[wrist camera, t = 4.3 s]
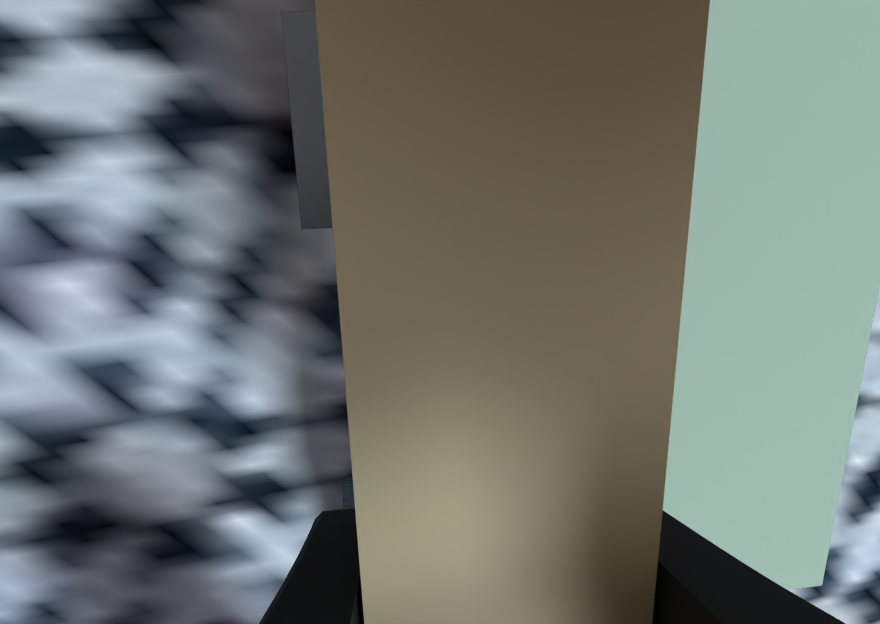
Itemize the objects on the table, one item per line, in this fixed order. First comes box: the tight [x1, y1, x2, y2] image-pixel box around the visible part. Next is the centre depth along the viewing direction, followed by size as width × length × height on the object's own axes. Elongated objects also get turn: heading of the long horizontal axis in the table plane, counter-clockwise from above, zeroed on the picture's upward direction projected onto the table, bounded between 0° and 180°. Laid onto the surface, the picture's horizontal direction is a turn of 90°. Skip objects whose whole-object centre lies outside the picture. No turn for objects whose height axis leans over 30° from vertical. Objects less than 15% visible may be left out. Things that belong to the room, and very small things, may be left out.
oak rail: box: [315, 0, 710, 624], centre depth 7 cm, size 16×3×2 cm, turn 2°
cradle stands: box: [281, 12, 355, 509], centre depth 15 cm, size 16×5×5 cm, turn 2°
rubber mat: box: [663, 0, 880, 589], centre depth 18 cm, size 20×8×1 cm, turn 2°
